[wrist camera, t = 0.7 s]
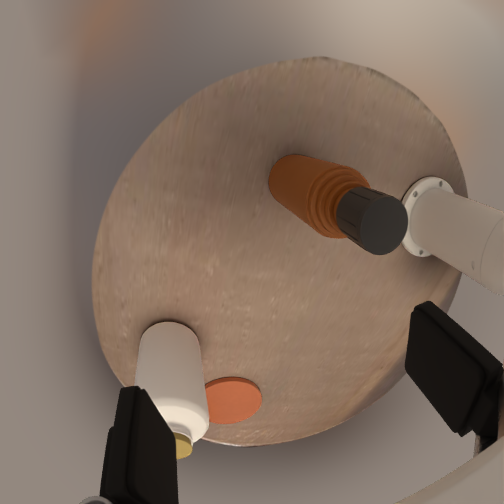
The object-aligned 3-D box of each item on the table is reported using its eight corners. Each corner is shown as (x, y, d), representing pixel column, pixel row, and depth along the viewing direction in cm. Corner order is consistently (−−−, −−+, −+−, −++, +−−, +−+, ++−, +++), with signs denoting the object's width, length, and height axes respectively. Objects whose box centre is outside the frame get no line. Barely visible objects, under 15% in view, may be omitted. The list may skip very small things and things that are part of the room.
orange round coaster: (273, 391, 49) (275, 395, 48) (232, 426, 51) (233, 430, 50) (222, 367, 45) (223, 371, 44) (181, 406, 47) (182, 410, 46)
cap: (389, 209, 24) (417, 223, 20) (357, 248, 24) (381, 266, 21) (360, 175, 22) (387, 184, 19) (325, 216, 23) (348, 231, 19)
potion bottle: (135, 320, 39) (118, 426, 23) (196, 315, 41) (209, 422, 25) (146, 366, 43) (142, 469, 26) (202, 362, 44) (217, 465, 28)
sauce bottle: (328, 178, 38) (428, 219, 21) (295, 216, 39) (375, 283, 22) (293, 143, 35) (384, 158, 19) (257, 183, 36) (322, 231, 20)
